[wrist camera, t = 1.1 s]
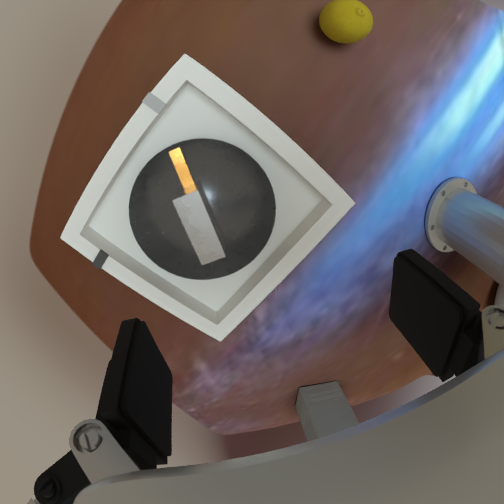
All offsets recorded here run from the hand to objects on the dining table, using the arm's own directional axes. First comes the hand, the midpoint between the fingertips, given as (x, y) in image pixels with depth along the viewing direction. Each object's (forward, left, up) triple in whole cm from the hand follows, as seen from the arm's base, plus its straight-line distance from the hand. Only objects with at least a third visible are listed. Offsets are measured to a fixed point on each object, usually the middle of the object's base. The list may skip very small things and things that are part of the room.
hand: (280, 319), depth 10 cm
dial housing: (+1, +5, -26) cm, 26 cm away
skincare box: (-38, +21, -26) cm, 51 cm away
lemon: (+4, -22, -26) cm, 35 cm away
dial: (+1, +5, -24) cm, 24 cm away
